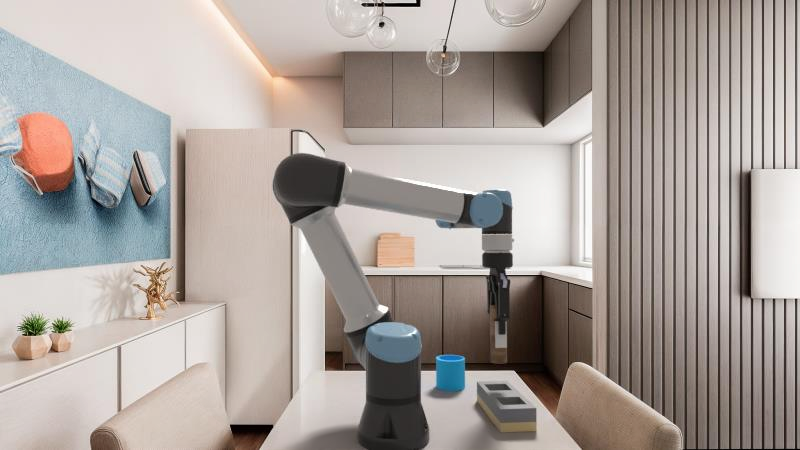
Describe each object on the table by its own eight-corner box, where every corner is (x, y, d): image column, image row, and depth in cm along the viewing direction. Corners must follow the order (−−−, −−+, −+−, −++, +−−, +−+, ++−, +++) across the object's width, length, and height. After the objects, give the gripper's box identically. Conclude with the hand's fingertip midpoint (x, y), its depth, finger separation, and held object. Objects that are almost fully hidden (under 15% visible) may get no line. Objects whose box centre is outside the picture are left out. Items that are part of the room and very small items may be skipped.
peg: (499, 364, 129) (498, 307, 130) (487, 361, 133) (486, 305, 133) (510, 362, 132) (509, 305, 132) (498, 359, 135) (497, 304, 135)
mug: (467, 390, 146) (467, 361, 146) (438, 391, 146) (438, 361, 146) (460, 379, 158) (460, 351, 158) (433, 379, 158) (432, 352, 158)
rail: (536, 431, 116) (536, 408, 116) (500, 432, 115) (500, 409, 115) (507, 400, 138) (507, 380, 138) (476, 400, 137) (476, 381, 137)
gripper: (522, 252, 125) (524, 352, 124) (502, 250, 142) (503, 338, 141) (491, 253, 124) (492, 353, 123) (474, 250, 141) (475, 339, 140)
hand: (498, 345), depth 132 cm, fingers closed on peg, 4 cm apart
